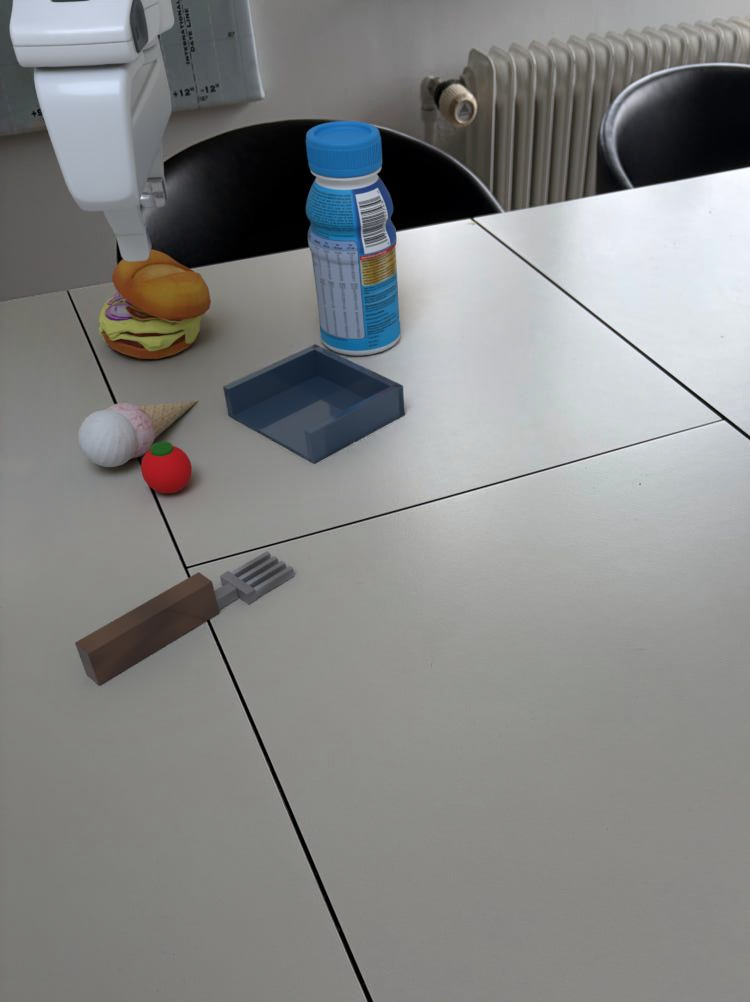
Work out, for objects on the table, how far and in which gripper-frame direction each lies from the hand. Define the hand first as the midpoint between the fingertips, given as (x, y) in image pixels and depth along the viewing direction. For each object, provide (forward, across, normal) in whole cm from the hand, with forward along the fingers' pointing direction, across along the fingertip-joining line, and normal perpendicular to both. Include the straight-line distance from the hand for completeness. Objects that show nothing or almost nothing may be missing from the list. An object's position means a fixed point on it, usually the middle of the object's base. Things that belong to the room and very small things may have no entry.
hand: (147, 229), depth 71 cm
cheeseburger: (+22, -28, -7) cm, 37 cm away
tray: (+22, -12, +9) cm, 27 cm away
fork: (+22, +15, +1) cm, 27 cm away
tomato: (+20, -1, -3) cm, 20 cm away
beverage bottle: (+22, -26, +13) cm, 37 cm away
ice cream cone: (+22, -9, -6) cm, 25 cm away
